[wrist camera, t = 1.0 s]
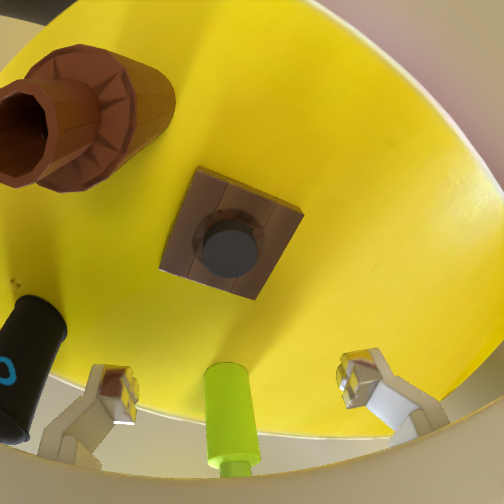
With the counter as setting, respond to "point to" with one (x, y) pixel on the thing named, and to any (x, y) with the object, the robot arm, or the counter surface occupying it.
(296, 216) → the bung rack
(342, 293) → the counter surface
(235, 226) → the cylinder
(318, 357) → the counter surface
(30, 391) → the aerosol can
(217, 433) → the soap dispenser
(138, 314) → the counter surface
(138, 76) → the bottle
